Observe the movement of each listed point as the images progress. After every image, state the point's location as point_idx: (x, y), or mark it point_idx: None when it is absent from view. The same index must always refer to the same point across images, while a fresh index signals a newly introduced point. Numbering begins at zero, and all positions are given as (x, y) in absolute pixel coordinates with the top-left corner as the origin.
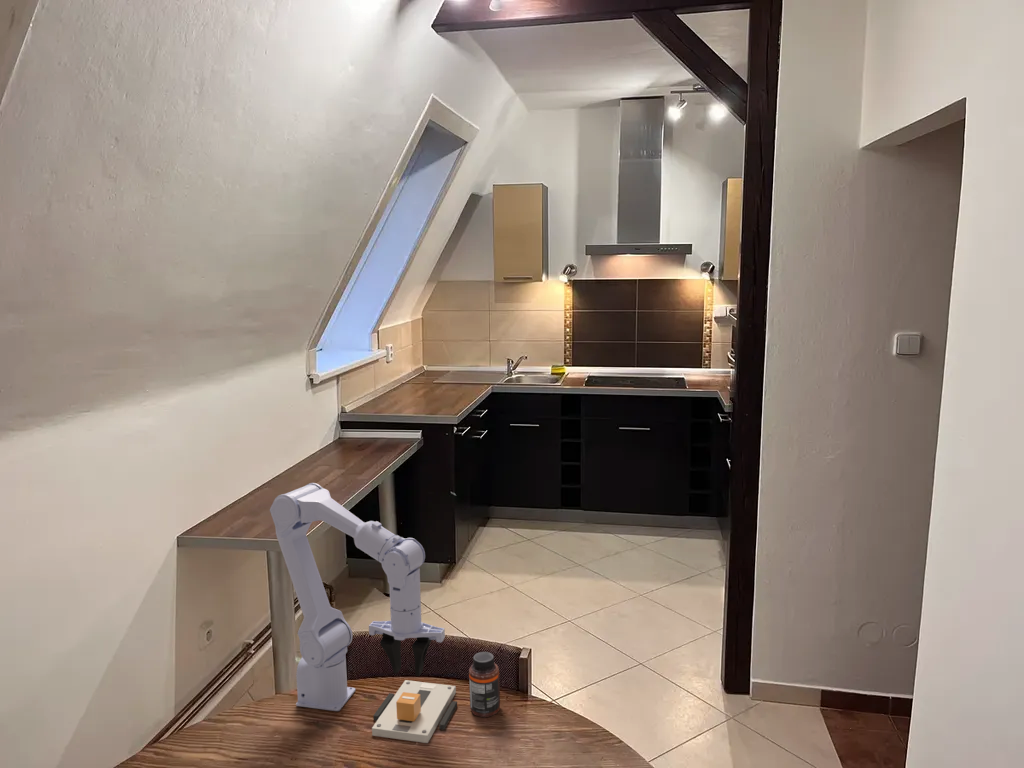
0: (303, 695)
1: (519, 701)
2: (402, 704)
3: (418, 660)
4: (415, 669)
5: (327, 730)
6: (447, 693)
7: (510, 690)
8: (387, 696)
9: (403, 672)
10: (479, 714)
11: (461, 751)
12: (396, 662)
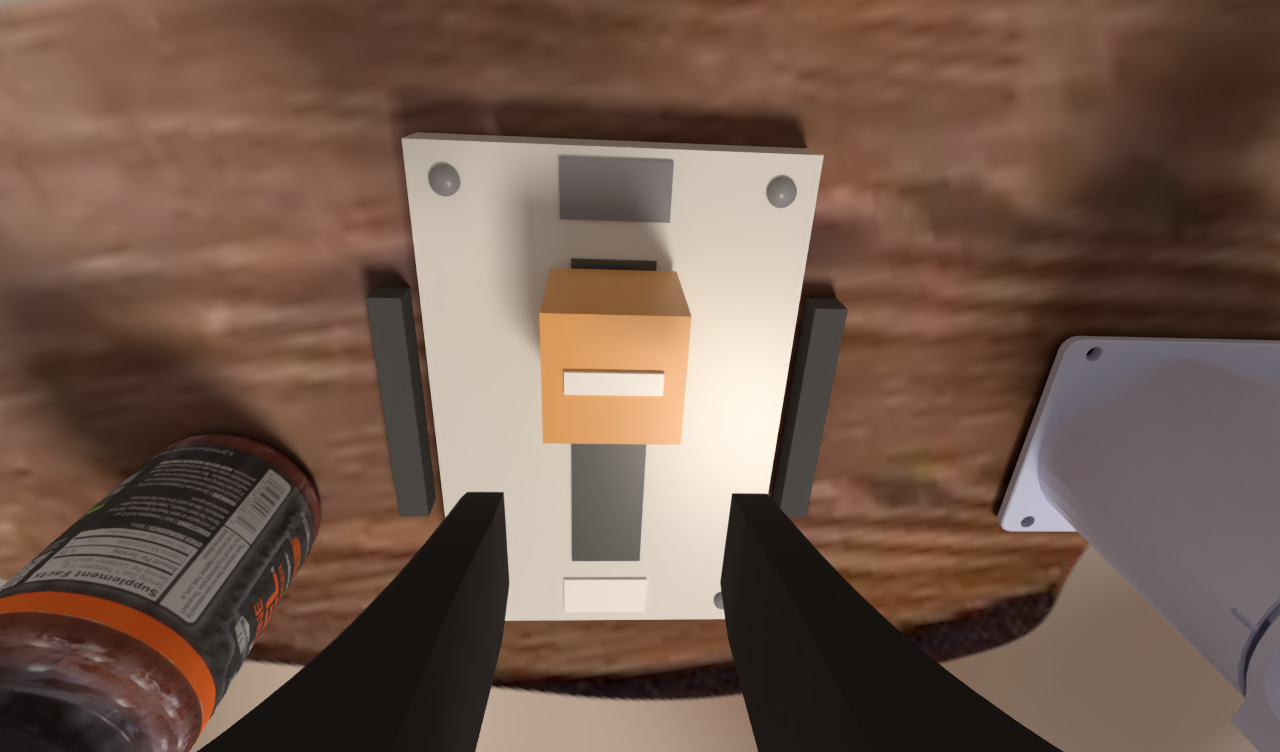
0: None
1: None
2: (637, 309)
3: (362, 642)
4: (478, 538)
5: (1107, 150)
6: None
7: None
8: (808, 489)
9: None
10: (220, 439)
11: (150, 83)
12: (764, 601)
